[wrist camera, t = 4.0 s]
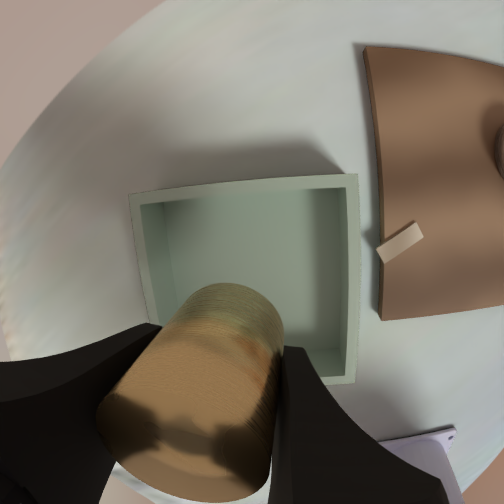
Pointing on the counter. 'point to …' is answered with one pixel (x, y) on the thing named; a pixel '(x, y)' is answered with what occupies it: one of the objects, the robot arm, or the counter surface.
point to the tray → (262, 255)
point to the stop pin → (201, 399)
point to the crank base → (437, 181)
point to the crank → (500, 150)
